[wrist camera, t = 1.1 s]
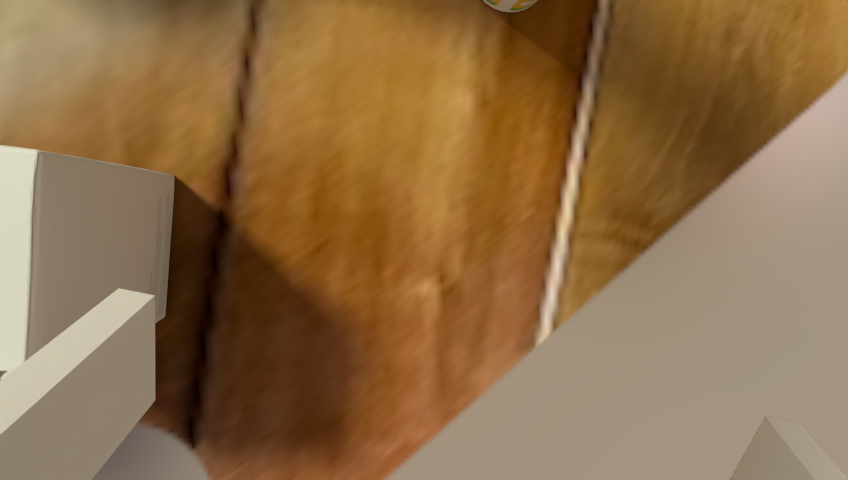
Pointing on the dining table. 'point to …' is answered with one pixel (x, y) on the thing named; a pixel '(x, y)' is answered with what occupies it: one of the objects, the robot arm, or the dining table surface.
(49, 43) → the dining table surface
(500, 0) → the supplement bottle
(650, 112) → the dining table surface
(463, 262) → the dining table surface
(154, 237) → the supplement box
